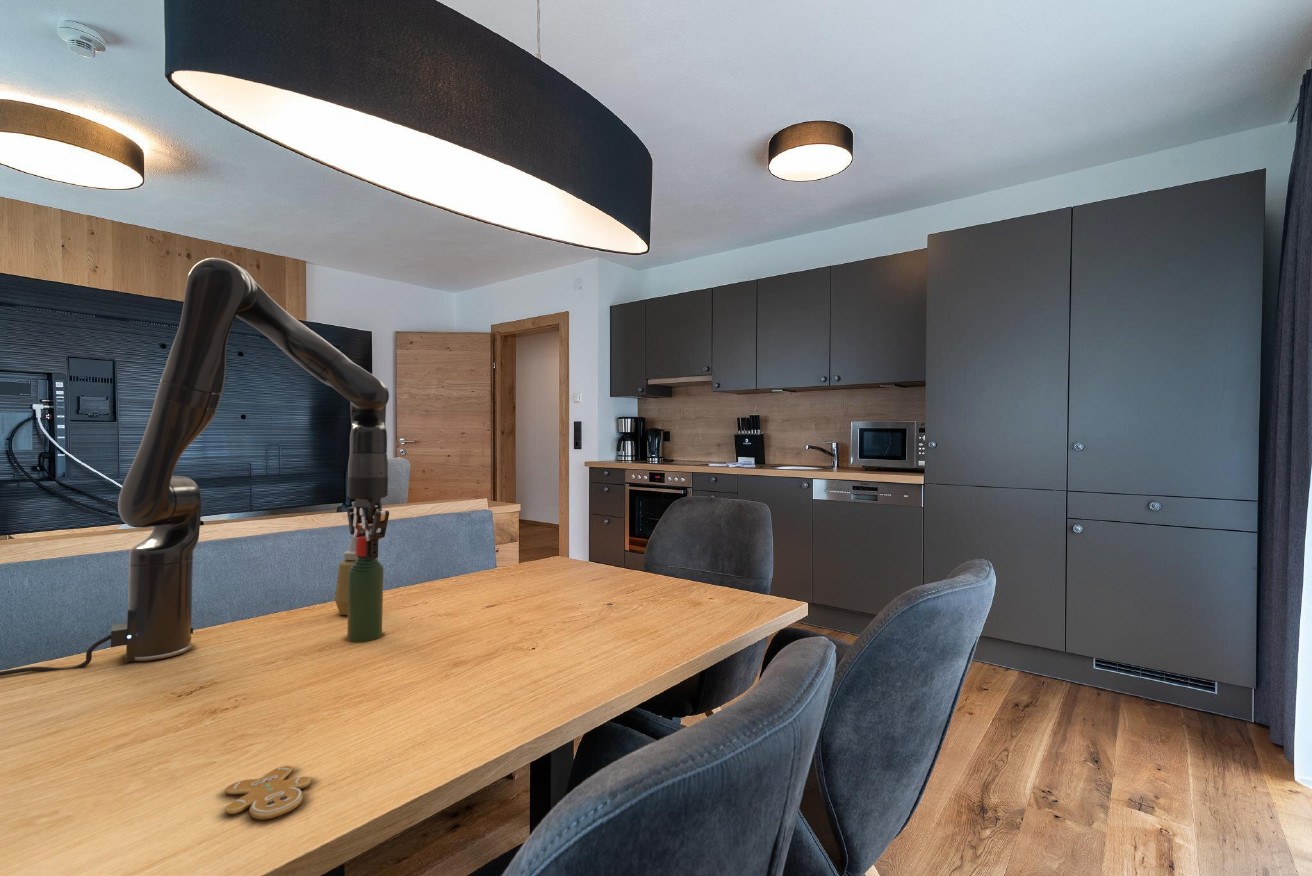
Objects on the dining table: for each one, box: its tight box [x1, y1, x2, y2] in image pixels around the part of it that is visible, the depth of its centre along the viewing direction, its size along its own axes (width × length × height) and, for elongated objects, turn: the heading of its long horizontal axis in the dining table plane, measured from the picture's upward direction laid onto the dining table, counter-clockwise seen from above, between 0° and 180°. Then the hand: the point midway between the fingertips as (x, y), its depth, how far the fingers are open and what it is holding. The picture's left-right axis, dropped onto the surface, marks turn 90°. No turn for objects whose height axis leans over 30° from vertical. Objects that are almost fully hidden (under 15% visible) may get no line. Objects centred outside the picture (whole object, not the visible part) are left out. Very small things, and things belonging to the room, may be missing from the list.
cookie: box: [224, 765, 312, 820], centre depth 65 cm, size 8×1×10 cm
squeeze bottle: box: [334, 535, 358, 616], centre depth 137 cm, size 8×8×18 cm
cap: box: [356, 536, 367, 556], centre depth 120 cm, size 4×4×4 cm
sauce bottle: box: [346, 556, 384, 643], centre depth 120 cm, size 6×6×20 cm
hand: (366, 557), depth 120 cm, fingers closed on cap, 4 cm apart
